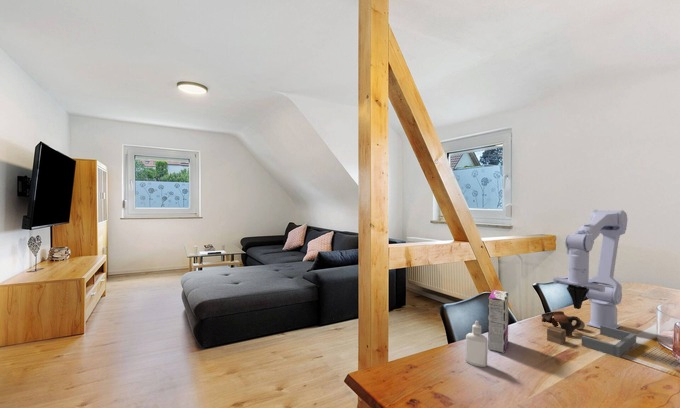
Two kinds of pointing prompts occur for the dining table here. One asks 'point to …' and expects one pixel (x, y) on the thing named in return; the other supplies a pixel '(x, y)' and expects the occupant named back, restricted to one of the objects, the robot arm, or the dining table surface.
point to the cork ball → (581, 324)
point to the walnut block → (556, 335)
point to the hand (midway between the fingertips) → (577, 308)
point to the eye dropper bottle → (476, 347)
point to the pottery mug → (562, 321)
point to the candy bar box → (498, 321)
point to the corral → (615, 350)
